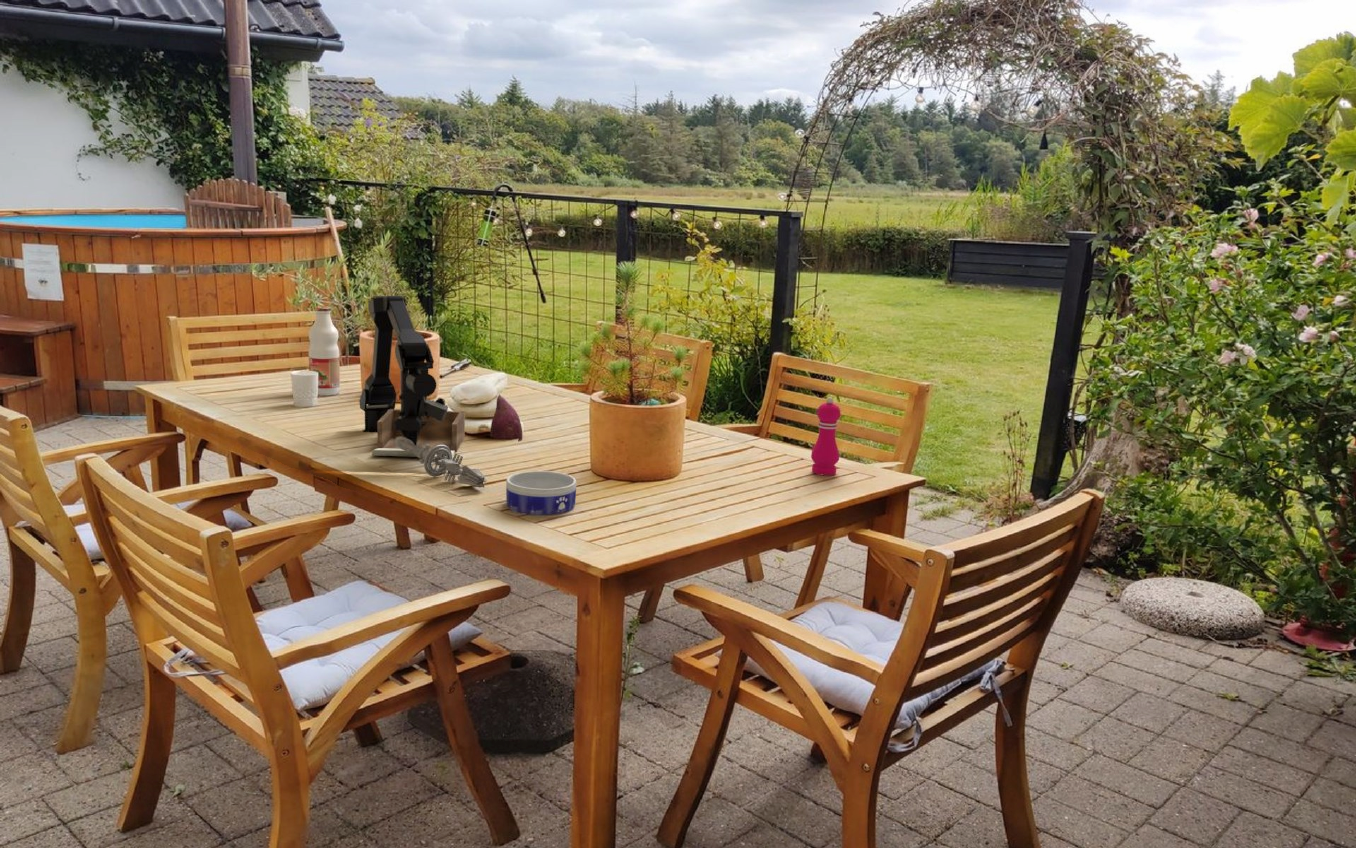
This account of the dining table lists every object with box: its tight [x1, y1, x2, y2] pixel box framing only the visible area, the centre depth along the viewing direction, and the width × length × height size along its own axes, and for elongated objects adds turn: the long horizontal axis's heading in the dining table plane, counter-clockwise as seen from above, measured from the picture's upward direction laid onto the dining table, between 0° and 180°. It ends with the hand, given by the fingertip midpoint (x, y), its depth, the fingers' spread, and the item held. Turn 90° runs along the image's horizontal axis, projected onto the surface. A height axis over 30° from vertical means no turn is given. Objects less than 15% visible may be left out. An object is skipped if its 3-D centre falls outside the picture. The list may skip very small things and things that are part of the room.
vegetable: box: [489, 394, 523, 442], centre depth 285 cm, size 10×9×14 cm
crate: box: [376, 408, 466, 453], centre depth 272 cm, size 20×16×8 cm
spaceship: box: [395, 436, 488, 489], centre depth 245 cm, size 8×35×8 cm
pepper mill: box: [810, 396, 842, 476], centre depth 265 cm, size 7×7×20 cm
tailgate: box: [371, 447, 456, 458], centre depth 261 cm, size 19×1×8 cm
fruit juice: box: [308, 305, 341, 397], centre depth 331 cm, size 9×9×28 cm
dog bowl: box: [505, 470, 577, 516], centre depth 227 cm, size 15×15×6 cm
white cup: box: [290, 370, 319, 408], centre depth 314 cm, size 8×8×10 cm
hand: (413, 451), depth 259 cm, fingers closed, pressing on tailgate
